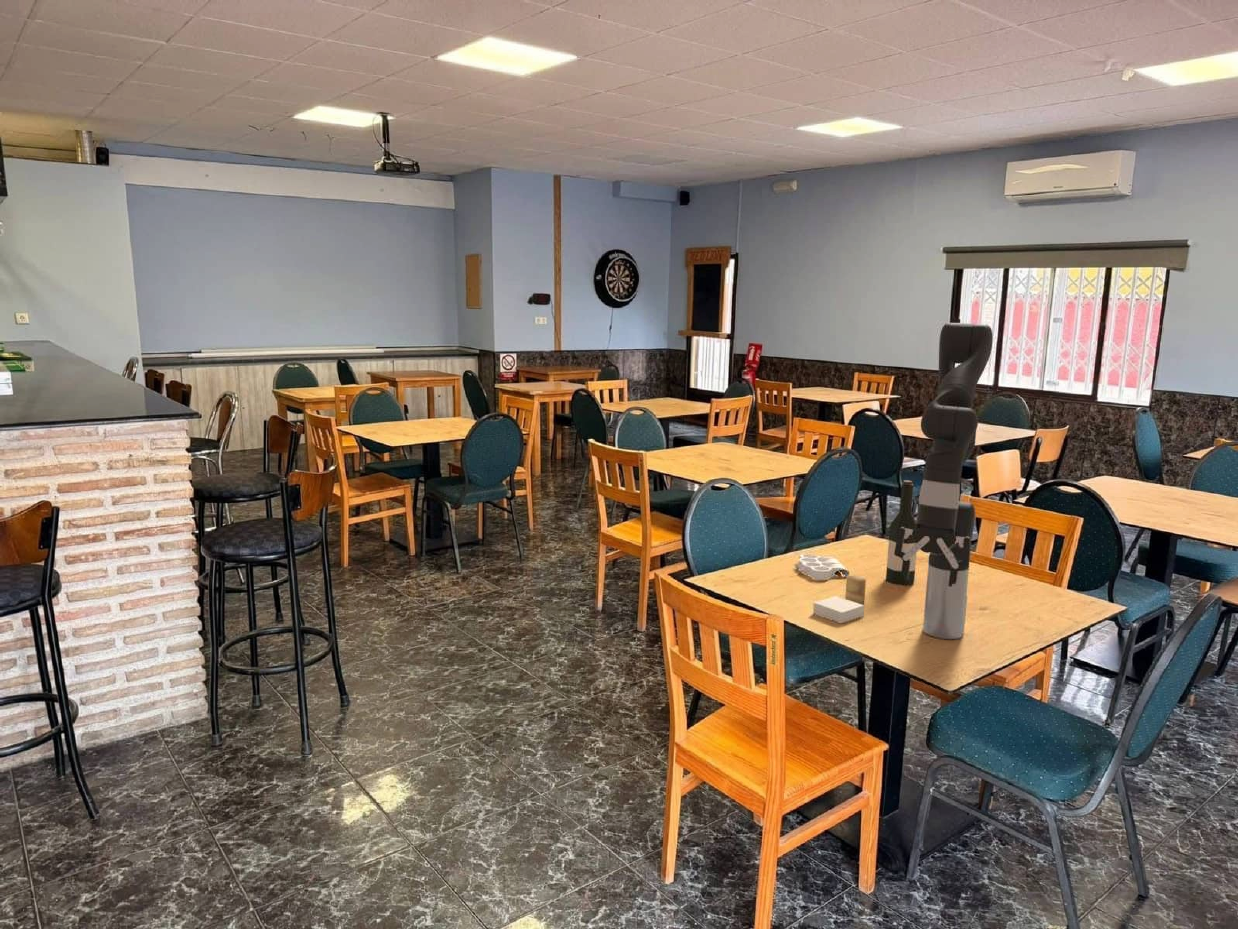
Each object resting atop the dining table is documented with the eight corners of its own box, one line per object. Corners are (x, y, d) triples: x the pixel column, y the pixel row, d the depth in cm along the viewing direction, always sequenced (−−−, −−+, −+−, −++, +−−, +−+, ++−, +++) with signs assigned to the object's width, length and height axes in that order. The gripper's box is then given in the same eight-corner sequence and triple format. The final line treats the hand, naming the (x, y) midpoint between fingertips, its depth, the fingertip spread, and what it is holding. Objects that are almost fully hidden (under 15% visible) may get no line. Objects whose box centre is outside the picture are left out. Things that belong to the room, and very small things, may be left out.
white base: (834, 606, 222) (835, 595, 222) (863, 616, 215) (864, 605, 215) (813, 613, 217) (813, 602, 216) (841, 623, 210) (842, 612, 209)
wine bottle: (919, 586, 240) (927, 484, 235) (890, 585, 240) (897, 483, 235) (909, 576, 248) (917, 478, 243) (881, 576, 248) (888, 478, 243)
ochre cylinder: (852, 599, 228) (854, 574, 227) (868, 604, 224) (869, 579, 223) (841, 602, 225) (842, 577, 224) (856, 608, 221) (858, 582, 220)
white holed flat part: (852, 582, 244) (803, 582, 243) (834, 564, 262) (788, 564, 261) (853, 571, 244) (803, 571, 243) (834, 553, 261) (788, 553, 261)
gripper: (976, 507, 170) (965, 585, 171) (903, 498, 175) (893, 573, 176) (976, 510, 163) (964, 591, 164) (900, 500, 168) (889, 578, 170)
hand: (927, 582), depth 170 cm, fingers open, 8 cm apart
